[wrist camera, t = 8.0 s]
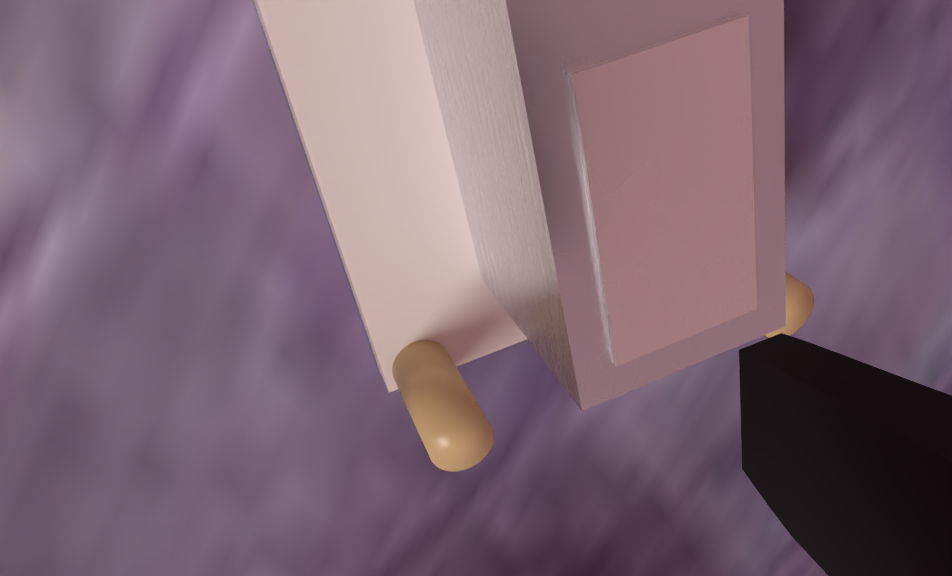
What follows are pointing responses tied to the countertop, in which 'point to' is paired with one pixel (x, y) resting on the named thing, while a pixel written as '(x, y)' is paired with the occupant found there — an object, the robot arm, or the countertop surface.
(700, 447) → the countertop surface
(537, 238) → the mauve rectangular box
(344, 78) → the wooden peg board
